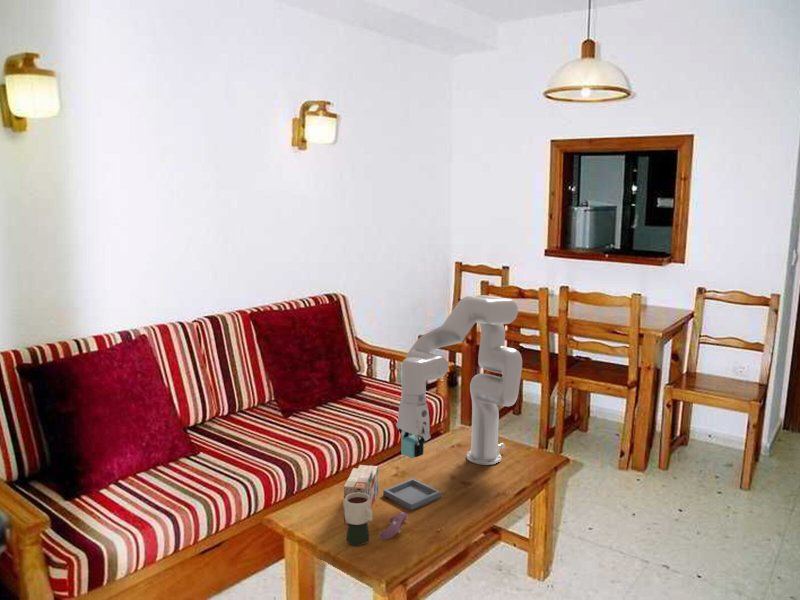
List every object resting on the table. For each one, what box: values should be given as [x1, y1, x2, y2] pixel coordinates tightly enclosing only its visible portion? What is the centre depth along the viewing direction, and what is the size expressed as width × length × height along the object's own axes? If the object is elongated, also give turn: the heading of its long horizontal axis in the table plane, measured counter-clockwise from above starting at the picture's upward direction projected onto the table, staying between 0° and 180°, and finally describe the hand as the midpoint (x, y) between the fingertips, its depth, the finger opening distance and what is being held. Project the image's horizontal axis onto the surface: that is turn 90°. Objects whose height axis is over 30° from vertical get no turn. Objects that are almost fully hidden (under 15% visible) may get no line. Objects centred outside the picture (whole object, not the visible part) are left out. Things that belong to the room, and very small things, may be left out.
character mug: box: [342, 492, 373, 546], centre depth 181 cm, size 11×7×13 cm, turn 49°
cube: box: [400, 434, 425, 459], centre depth 205 cm, size 5×5×5 cm
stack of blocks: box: [343, 464, 379, 525], centre depth 200 cm, size 21×6×12 cm, turn 171°
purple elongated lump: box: [379, 510, 409, 541], centre depth 186 cm, size 10×5×7 cm, turn 160°
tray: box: [382, 477, 442, 512], centre depth 208 cm, size 13×13×2 cm
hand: (412, 452), depth 205 cm, fingers closed on cube, 4 cm apart
